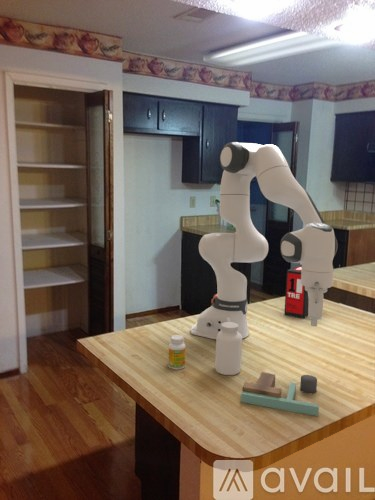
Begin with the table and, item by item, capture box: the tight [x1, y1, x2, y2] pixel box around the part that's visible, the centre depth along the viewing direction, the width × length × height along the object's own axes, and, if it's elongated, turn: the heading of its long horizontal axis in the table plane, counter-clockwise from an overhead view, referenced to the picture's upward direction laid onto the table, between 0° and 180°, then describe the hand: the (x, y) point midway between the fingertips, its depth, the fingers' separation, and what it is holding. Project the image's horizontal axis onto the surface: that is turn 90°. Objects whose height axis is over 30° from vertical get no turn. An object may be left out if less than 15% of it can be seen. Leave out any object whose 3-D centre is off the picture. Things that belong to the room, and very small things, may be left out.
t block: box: [241, 371, 282, 398], centre depth 123 cm, size 10×11×4 cm
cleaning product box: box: [283, 263, 309, 320], centre depth 196 cm, size 16×9×20 cm, turn 147°
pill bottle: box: [214, 322, 243, 376], centre depth 136 cm, size 8×8×15 cm
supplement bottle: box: [167, 334, 187, 370], centre depth 139 cm, size 5×5×10 cm
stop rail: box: [240, 382, 320, 417], centre depth 120 cm, size 20×12×2 cm, turn 71°
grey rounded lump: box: [299, 374, 318, 394], centre depth 125 cm, size 4×4×4 cm
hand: (313, 324), depth 130 cm, fingers closed
